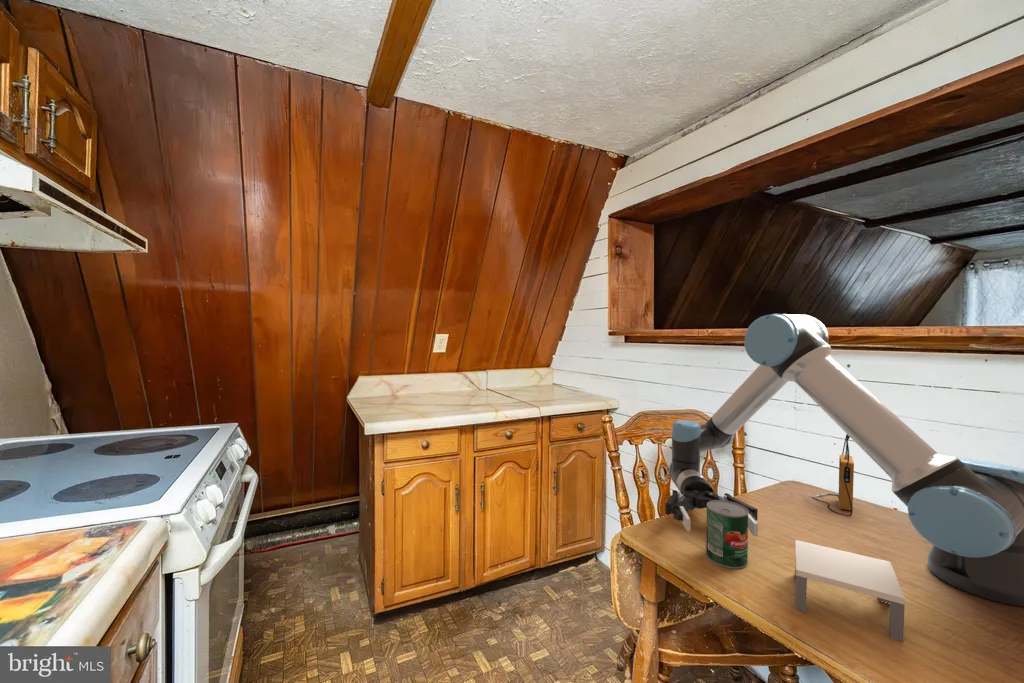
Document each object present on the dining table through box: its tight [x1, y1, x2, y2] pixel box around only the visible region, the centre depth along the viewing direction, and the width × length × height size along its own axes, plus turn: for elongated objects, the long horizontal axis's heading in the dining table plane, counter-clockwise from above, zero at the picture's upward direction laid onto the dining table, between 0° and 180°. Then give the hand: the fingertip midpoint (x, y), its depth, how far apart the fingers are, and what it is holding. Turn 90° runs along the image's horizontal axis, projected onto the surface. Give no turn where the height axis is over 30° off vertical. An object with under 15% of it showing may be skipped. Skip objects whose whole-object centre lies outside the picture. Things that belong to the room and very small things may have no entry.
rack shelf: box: [794, 539, 906, 643], centre depth 74 cm, size 14×12×7 cm
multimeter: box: [806, 433, 855, 517], centre depth 115 cm, size 15×10×20 cm
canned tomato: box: [705, 500, 749, 570], centre depth 88 cm, size 8×8×11 cm
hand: (721, 527), depth 90 cm, fingers open, 13 cm apart
